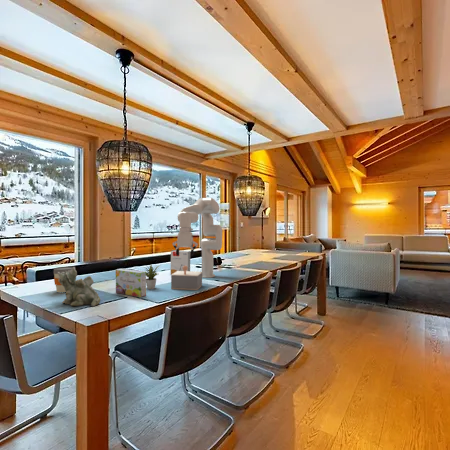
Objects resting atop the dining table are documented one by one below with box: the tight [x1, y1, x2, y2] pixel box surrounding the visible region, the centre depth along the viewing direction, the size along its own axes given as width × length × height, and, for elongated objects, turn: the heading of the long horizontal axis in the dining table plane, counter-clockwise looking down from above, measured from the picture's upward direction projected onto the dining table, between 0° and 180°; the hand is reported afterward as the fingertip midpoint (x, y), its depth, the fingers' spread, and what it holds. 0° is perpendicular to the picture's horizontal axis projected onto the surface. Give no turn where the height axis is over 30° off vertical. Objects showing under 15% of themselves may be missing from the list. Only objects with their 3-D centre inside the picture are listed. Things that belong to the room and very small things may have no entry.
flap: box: [170, 266, 202, 276], centre depth 204 cm, size 14×18×6 cm
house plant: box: [143, 264, 162, 290], centre depth 201 cm, size 14×14×16 cm
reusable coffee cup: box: [53, 266, 76, 293], centre depth 190 cm, size 13×13×15 cm
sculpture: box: [58, 266, 101, 307], centre depth 164 cm, size 16×27×20 cm, turn 70°
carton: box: [170, 273, 203, 291], centre depth 204 cm, size 14×18×9 cm
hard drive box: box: [170, 249, 191, 275], centre depth 251 cm, size 16×8×20 cm, turn 81°
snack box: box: [115, 267, 147, 298], centre depth 183 cm, size 21×6×15 cm, turn 62°
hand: (184, 255), depth 198 cm, fingers open, 9 cm apart
